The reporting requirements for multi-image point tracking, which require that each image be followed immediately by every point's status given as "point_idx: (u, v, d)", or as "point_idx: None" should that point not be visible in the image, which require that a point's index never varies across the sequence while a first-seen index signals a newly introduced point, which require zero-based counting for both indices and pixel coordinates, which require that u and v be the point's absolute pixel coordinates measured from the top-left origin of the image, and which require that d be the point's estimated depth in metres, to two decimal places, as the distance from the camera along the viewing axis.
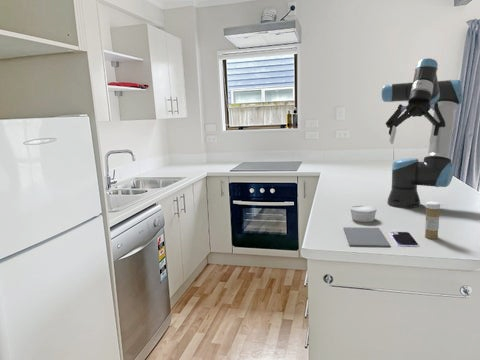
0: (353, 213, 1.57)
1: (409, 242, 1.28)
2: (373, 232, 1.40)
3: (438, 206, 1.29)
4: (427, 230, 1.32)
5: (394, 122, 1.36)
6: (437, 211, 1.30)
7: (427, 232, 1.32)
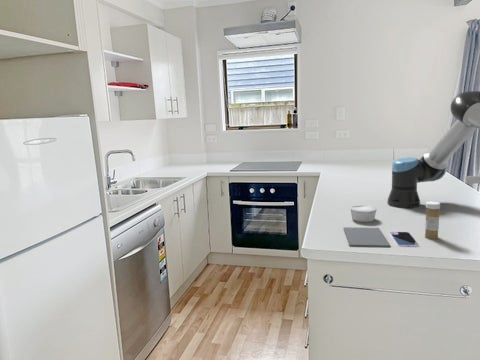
0: (353, 213, 1.57)
1: (409, 242, 1.28)
2: (373, 232, 1.40)
3: (438, 206, 1.29)
4: (427, 230, 1.32)
5: None
6: (437, 211, 1.30)
7: (427, 232, 1.32)
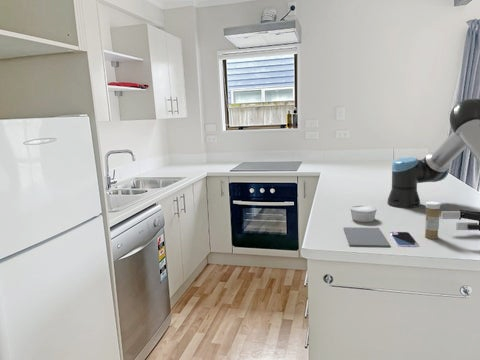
0: (353, 213, 1.57)
1: (409, 242, 1.28)
2: (373, 232, 1.40)
3: (438, 206, 1.29)
4: (427, 230, 1.32)
5: None
6: (437, 211, 1.30)
7: (427, 232, 1.32)
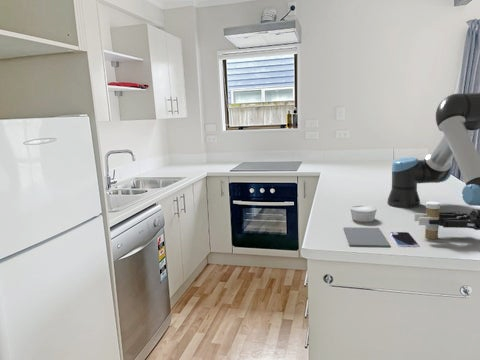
0: (353, 213, 1.57)
1: (409, 242, 1.28)
2: (373, 232, 1.40)
3: (438, 206, 1.29)
4: (427, 230, 1.32)
5: None
6: (437, 211, 1.30)
7: (427, 232, 1.32)
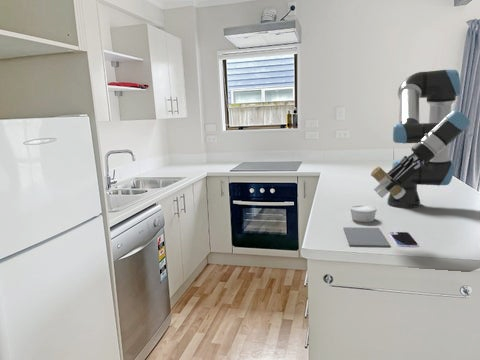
0: (353, 213, 1.57)
1: (409, 242, 1.28)
2: (373, 232, 1.40)
3: None
4: None
5: (390, 173, 1.34)
6: None
7: None
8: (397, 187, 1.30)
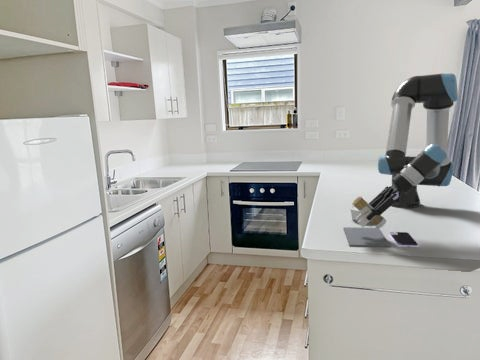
0: (353, 213, 1.57)
1: (409, 242, 1.28)
2: (373, 232, 1.40)
3: None
4: None
5: (371, 203, 1.37)
6: None
7: None
8: (378, 217, 1.33)
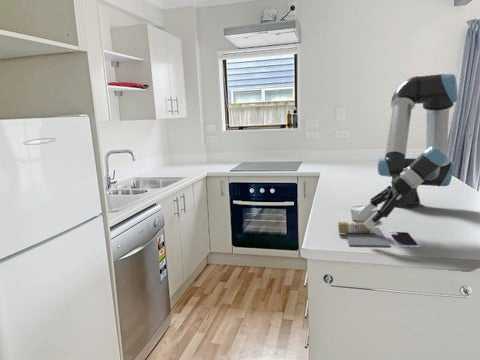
0: (353, 213, 1.57)
1: (409, 242, 1.28)
2: None
3: None
4: (346, 232, 1.39)
5: (373, 200, 1.41)
6: None
7: (344, 232, 1.39)
8: (364, 222, 1.39)
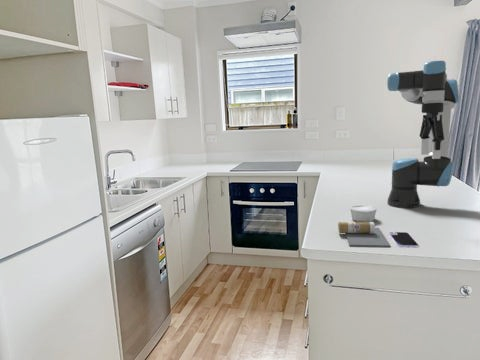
0: (353, 213, 1.57)
1: (409, 242, 1.28)
2: None
3: None
4: (346, 232, 1.39)
5: (422, 135, 1.48)
6: None
7: (344, 232, 1.39)
8: None
